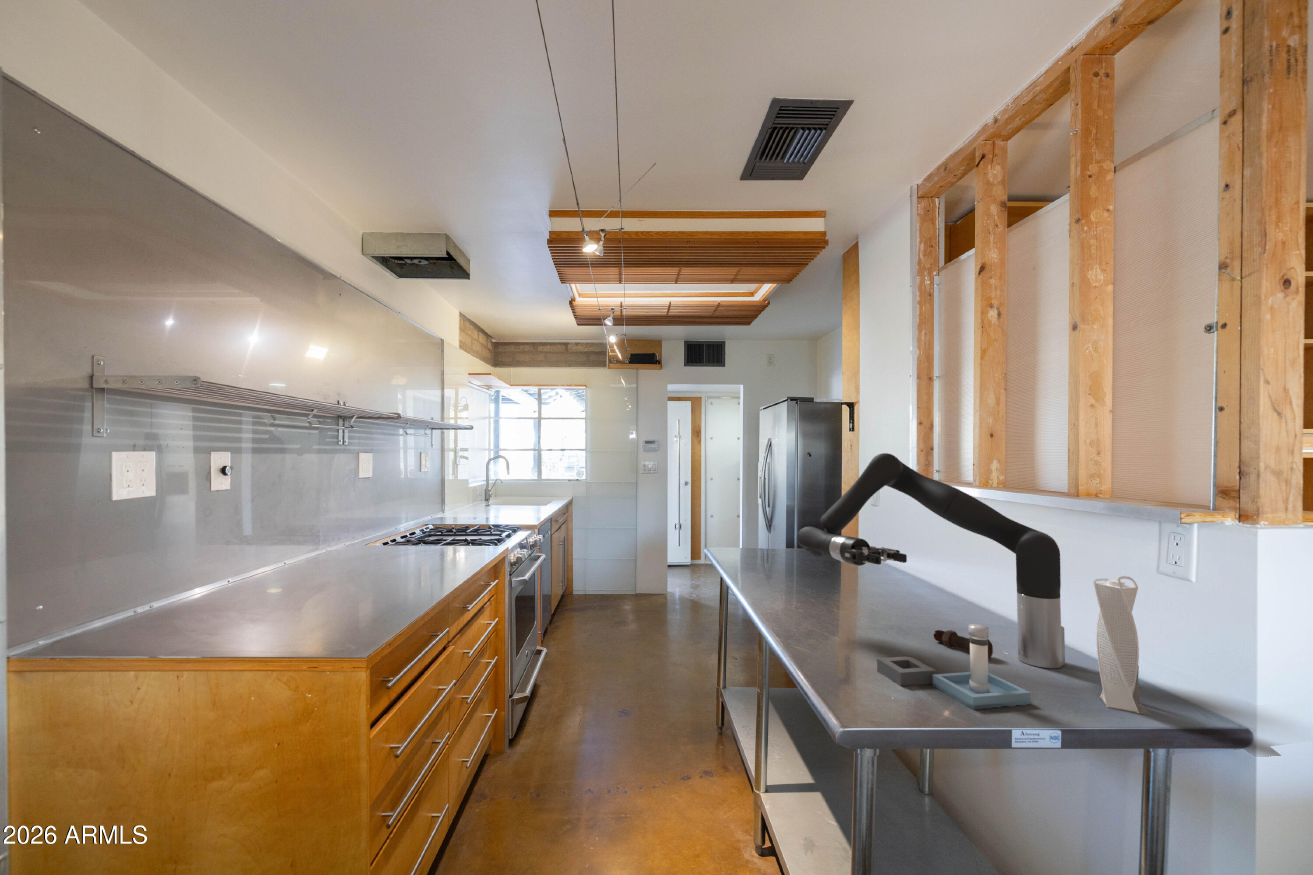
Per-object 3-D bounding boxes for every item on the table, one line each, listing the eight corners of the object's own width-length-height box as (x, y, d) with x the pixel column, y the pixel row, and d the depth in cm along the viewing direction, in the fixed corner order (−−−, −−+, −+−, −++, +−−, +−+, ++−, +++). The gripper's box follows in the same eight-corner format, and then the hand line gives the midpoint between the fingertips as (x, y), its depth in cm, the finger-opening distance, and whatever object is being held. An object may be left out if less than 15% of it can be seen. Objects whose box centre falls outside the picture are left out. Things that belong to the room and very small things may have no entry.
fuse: (980, 686, 120) (979, 623, 121) (993, 693, 116) (992, 628, 117) (965, 687, 119) (964, 624, 120) (978, 695, 116) (977, 629, 116)
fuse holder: (909, 668, 132) (909, 656, 132) (935, 683, 123) (935, 670, 124) (877, 670, 131) (877, 658, 131) (900, 685, 122) (900, 672, 122)
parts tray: (985, 681, 125) (985, 670, 125) (1030, 704, 113) (1030, 692, 113) (932, 685, 122) (932, 674, 122) (973, 709, 110) (973, 697, 111)
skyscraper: (1153, 719, 108) (1149, 579, 109) (1102, 710, 111) (1098, 575, 113) (1138, 703, 115) (1134, 572, 117) (1091, 695, 119) (1088, 568, 120)
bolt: (939, 647, 154) (989, 664, 140) (927, 640, 152) (977, 656, 138) (945, 628, 155) (995, 643, 141) (934, 621, 154) (984, 635, 140)
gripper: (829, 537, 151) (871, 546, 135) (869, 535, 156) (913, 543, 141) (829, 564, 150) (871, 575, 135) (869, 561, 155) (914, 572, 140)
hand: (893, 559), depth 138 cm, fingers open, 8 cm apart
